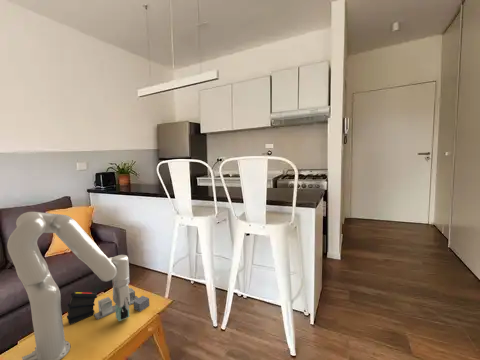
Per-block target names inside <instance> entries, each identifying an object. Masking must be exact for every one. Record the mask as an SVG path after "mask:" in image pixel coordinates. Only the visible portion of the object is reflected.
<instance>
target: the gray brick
mask: <svg viewBox="0 0 480 360" xmlns="http://www.w3.org/2000/svg"><path fill="white" fill-rule="evenodd" d="M149 307H150V298H149V297H148V296H145V295H141V296H140V297H138V299H136V300H135V301H133V309H134V310H136V311H138V312H140V313H141V312H142V311H144V310H146V309H147V308H149Z"/></svg>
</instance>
